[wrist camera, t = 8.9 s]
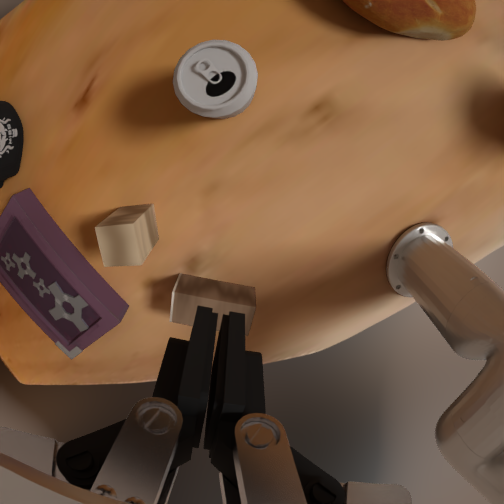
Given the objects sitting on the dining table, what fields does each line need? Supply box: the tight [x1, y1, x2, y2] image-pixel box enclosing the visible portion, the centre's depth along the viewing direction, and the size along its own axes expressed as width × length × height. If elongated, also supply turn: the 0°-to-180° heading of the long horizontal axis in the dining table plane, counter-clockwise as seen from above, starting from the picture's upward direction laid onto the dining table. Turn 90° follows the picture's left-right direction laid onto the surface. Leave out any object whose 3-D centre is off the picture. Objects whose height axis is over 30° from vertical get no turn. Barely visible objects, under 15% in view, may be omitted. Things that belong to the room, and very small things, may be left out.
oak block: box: [95, 204, 159, 267], centre depth 35 cm, size 5×5×8 cm
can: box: [173, 40, 258, 119], centre depth 27 cm, size 8×8×12 cm
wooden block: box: [170, 273, 256, 336], centre depth 42 cm, size 5×5×11 cm
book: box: [0, 188, 129, 360], centre depth 40 cm, size 25×16×5 cm, turn 36°
